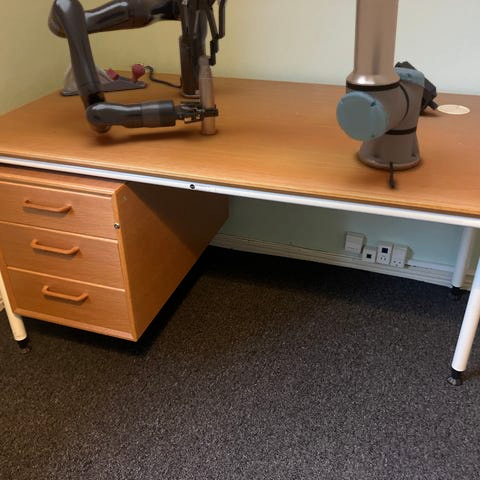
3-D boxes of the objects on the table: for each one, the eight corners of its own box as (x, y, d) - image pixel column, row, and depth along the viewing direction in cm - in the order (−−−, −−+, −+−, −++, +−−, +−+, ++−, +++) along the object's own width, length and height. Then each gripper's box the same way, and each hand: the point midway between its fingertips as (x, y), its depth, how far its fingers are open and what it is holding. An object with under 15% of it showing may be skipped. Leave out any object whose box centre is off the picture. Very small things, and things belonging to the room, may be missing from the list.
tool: (376, 92, 179) (403, 55, 168) (419, 129, 175) (449, 94, 164) (367, 96, 175) (394, 59, 164) (411, 135, 171) (441, 99, 160)
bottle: (210, 128, 161) (206, 57, 150) (218, 132, 158) (215, 60, 147) (198, 131, 159) (194, 60, 148) (207, 135, 156) (203, 62, 145)
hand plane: (62, 90, 197) (53, 48, 189) (145, 82, 205) (140, 41, 197) (62, 96, 191) (54, 53, 184) (148, 87, 199) (143, 45, 191)
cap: (195, 63, 149) (194, 56, 148) (209, 61, 150) (208, 54, 149) (201, 66, 145) (200, 59, 144) (215, 64, 147) (214, 57, 146)
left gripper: (157, 109, 145) (220, 104, 147) (155, 94, 157) (213, 90, 159) (160, 135, 149) (221, 130, 151) (158, 118, 161) (214, 114, 163)
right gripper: (236, -31, 137) (238, 62, 149) (173, -31, 140) (180, 60, 153) (229, -28, 131) (231, 69, 143) (163, -28, 134) (171, 66, 146)
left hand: (216, 109), depth 155 cm, fingers closed on bottle, 4 cm apart
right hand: (205, 64), depth 148 cm, fingers closed on cap, 4 cm apart
